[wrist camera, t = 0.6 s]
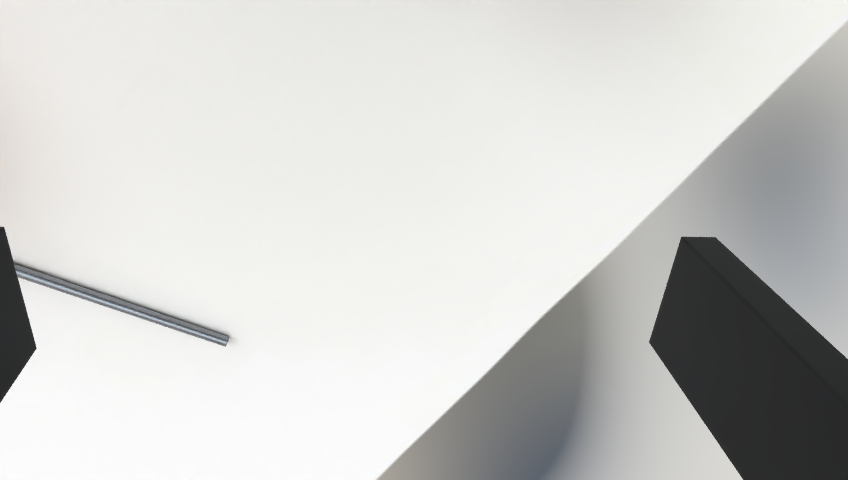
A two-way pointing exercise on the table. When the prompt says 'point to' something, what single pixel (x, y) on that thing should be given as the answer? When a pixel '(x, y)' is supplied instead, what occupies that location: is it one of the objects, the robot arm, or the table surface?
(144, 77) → the table surface
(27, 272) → the rod
